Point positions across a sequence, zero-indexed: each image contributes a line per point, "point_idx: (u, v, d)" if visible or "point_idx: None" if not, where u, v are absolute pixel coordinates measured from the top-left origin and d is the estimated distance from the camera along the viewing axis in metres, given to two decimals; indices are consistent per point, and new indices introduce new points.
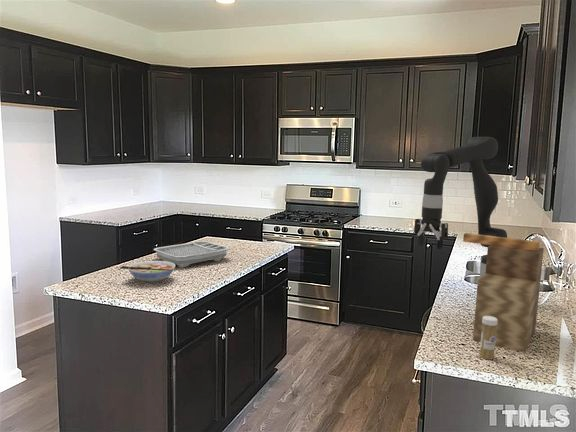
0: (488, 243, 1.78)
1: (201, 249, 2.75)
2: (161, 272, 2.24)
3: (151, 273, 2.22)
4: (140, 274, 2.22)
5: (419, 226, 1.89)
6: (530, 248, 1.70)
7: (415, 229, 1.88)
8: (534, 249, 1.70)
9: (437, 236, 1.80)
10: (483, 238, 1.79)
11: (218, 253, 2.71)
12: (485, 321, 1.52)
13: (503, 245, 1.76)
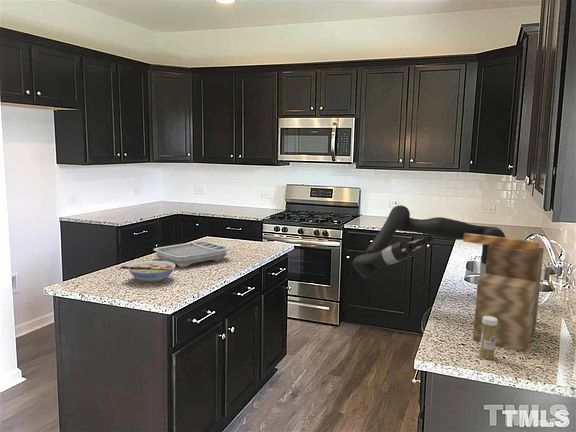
0: (488, 243, 1.78)
1: (201, 249, 2.75)
2: (161, 272, 2.24)
3: (151, 273, 2.22)
4: (140, 274, 2.22)
5: None
6: (530, 248, 1.70)
7: None
8: (534, 249, 1.70)
9: (416, 247, 1.92)
10: (483, 238, 1.79)
11: (218, 253, 2.71)
12: (485, 321, 1.52)
13: (503, 245, 1.76)
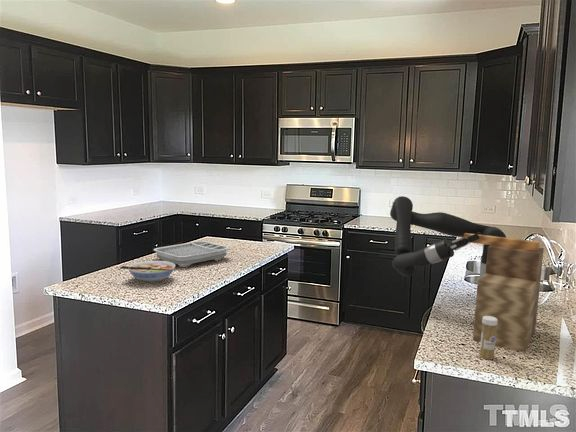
0: (488, 243, 1.78)
1: (201, 249, 2.75)
2: (161, 272, 2.24)
3: (151, 273, 2.22)
4: (140, 274, 2.22)
5: None
6: (530, 248, 1.70)
7: None
8: (534, 249, 1.70)
9: (466, 244, 1.82)
10: (483, 238, 1.79)
11: (219, 253, 2.72)
12: (485, 321, 1.52)
13: (503, 245, 1.76)
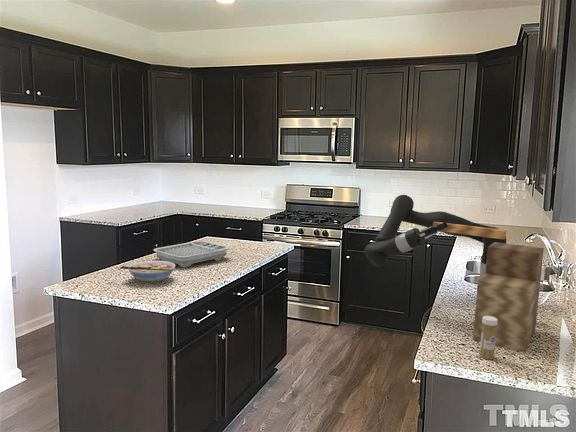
0: (456, 232, 1.79)
1: (201, 249, 2.75)
2: (161, 272, 2.24)
3: (151, 273, 2.22)
4: (140, 274, 2.22)
5: None
6: (496, 236, 1.71)
7: None
8: (500, 237, 1.70)
9: (435, 232, 1.83)
10: (452, 227, 1.80)
11: (219, 252, 2.73)
12: (485, 321, 1.52)
13: (470, 233, 1.76)
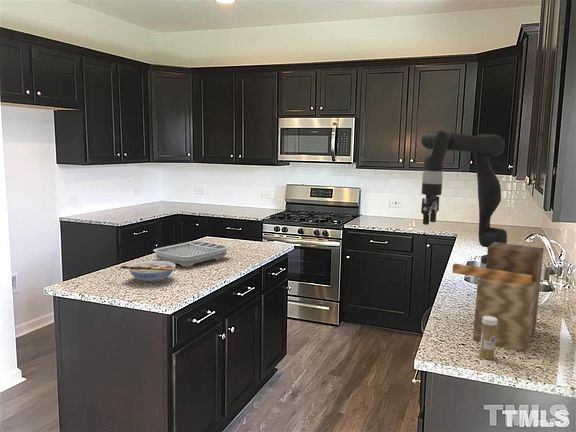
0: (478, 275, 1.70)
1: (201, 248, 2.76)
2: (161, 272, 2.24)
3: (151, 273, 2.22)
4: (140, 274, 2.22)
5: None
6: (522, 282, 1.62)
7: None
8: (526, 283, 1.61)
9: None
10: (473, 270, 1.71)
11: (220, 252, 2.74)
12: (485, 321, 1.52)
13: (494, 278, 1.67)
